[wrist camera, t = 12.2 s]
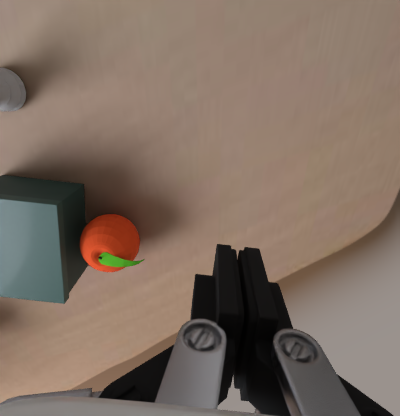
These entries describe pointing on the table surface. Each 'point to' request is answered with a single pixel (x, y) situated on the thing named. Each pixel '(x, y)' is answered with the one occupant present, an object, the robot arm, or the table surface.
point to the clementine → (110, 243)
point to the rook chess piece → (11, 91)
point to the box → (40, 238)
